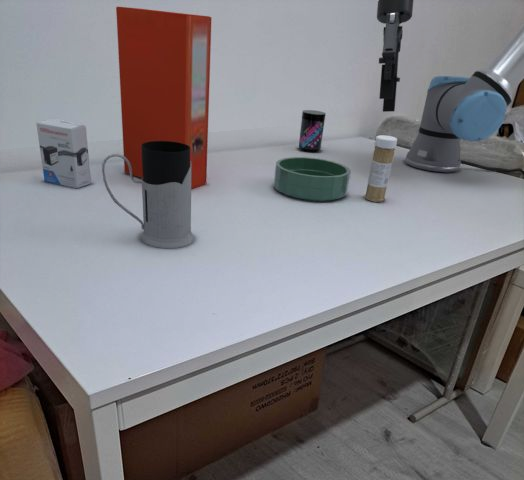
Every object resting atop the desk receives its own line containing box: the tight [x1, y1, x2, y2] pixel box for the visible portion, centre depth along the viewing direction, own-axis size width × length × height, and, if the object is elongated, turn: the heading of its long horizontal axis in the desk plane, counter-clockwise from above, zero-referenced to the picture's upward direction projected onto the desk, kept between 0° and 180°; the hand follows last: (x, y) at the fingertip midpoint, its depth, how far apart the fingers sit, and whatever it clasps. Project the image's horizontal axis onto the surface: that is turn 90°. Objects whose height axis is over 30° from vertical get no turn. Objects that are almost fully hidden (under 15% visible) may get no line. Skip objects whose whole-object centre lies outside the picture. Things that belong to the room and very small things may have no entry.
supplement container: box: [298, 109, 327, 153], centre depth 153 cm, size 7×7×10 cm
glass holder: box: [101, 141, 194, 249], centre depth 84 cm, size 9×14×15 cm, turn 107°
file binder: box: [115, 6, 212, 190], centre depth 110 cm, size 8×17×32 cm, turn 58°
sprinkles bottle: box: [364, 134, 398, 203], centre depth 115 cm, size 5×5×14 cm
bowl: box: [273, 156, 352, 202], centre depth 118 cm, size 17×17×6 cm
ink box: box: [35, 118, 92, 189], centre depth 107 cm, size 8×5×12 cm, turn 68°
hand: (387, 105), depth 118 cm, fingers open, 13 cm apart
